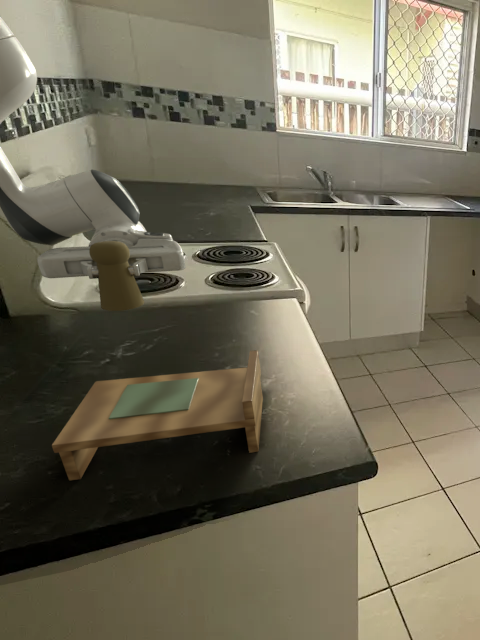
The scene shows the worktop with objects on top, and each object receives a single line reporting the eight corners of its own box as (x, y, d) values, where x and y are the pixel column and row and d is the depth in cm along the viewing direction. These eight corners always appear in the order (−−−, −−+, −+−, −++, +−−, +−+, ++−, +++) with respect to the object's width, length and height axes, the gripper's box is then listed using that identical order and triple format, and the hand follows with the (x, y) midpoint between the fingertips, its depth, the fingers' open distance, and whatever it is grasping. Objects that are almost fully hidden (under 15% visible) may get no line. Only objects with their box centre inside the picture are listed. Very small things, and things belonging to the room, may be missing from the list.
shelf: (65, 483, 60) (43, 424, 56) (105, 414, 73) (90, 363, 69) (259, 453, 68) (251, 400, 65) (264, 396, 82) (258, 350, 78)
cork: (104, 299, 84) (88, 238, 79) (146, 297, 86) (133, 237, 82) (97, 312, 79) (78, 247, 74) (141, 309, 82) (126, 246, 77)
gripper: (40, 237, 83) (22, 258, 73) (180, 233, 94) (182, 251, 83) (51, 271, 85) (35, 297, 75) (185, 264, 96) (188, 285, 86)
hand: (114, 272), depth 79 cm, fingers closed on cork, 4 cm apart
